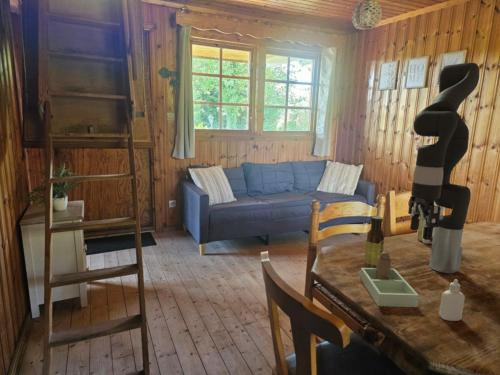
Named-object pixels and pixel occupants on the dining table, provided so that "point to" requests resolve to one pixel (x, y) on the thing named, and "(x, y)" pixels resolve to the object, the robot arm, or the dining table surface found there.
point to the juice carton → (421, 226)
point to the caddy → (388, 284)
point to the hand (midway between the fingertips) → (420, 234)
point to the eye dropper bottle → (452, 303)
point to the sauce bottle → (374, 242)
